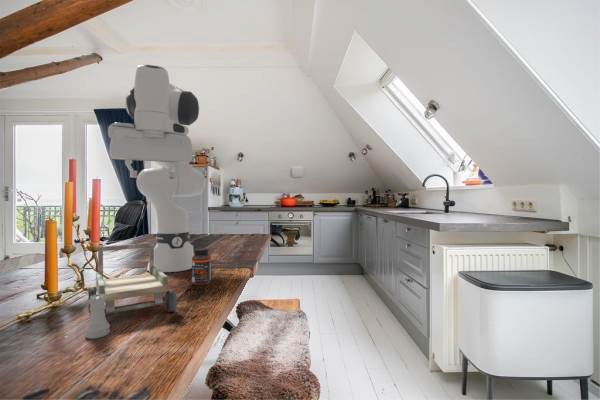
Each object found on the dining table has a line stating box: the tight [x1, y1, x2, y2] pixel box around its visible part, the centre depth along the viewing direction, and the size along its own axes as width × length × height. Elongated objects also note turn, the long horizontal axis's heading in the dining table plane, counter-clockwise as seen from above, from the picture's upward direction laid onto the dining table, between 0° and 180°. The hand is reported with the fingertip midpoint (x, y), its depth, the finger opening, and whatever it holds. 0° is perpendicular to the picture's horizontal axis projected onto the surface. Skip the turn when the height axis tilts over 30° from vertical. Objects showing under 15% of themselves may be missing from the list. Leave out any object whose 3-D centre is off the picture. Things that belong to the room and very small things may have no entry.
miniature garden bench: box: [87, 242, 178, 316], centre depth 80 cm, size 19×17×15 cm
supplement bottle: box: [191, 247, 212, 287], centre depth 104 cm, size 6×6×11 cm
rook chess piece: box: [84, 294, 111, 340], centre depth 65 cm, size 4×4×8 cm
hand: (153, 178), depth 86 cm, fingers open, 8 cm apart
